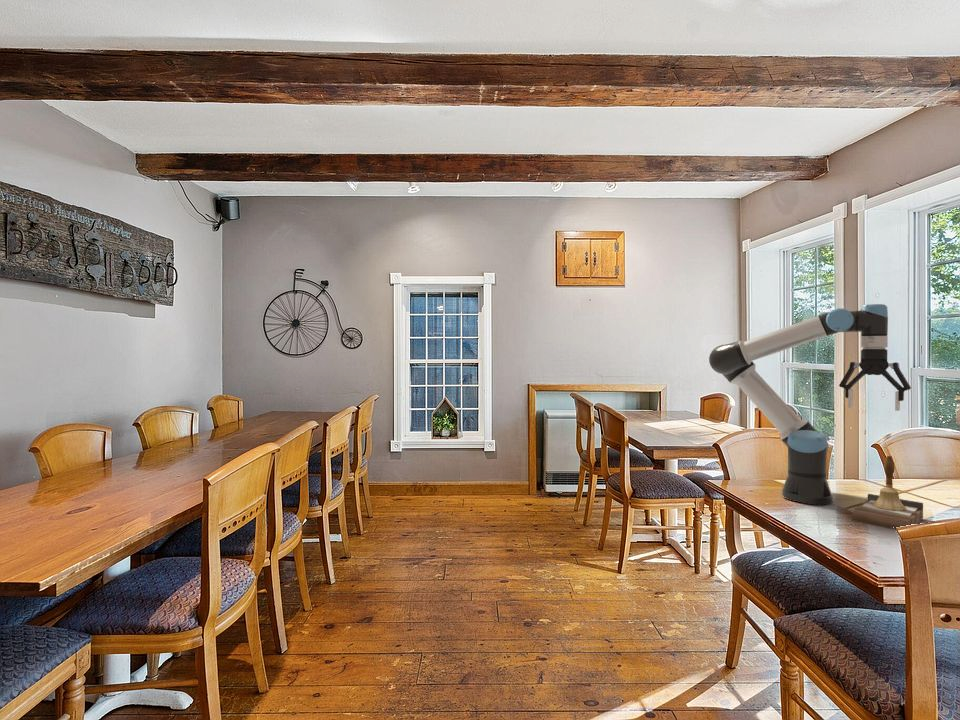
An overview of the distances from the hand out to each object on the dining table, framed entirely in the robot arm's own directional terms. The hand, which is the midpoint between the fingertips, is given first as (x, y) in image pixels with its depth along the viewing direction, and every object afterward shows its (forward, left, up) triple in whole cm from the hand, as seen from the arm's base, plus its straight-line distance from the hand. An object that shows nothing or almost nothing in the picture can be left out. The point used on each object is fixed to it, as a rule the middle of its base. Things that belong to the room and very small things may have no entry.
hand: (873, 409), depth 187 cm
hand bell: (-3, -24, -28) cm, 38 cm away
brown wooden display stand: (-4, -26, -32) cm, 41 cm away
